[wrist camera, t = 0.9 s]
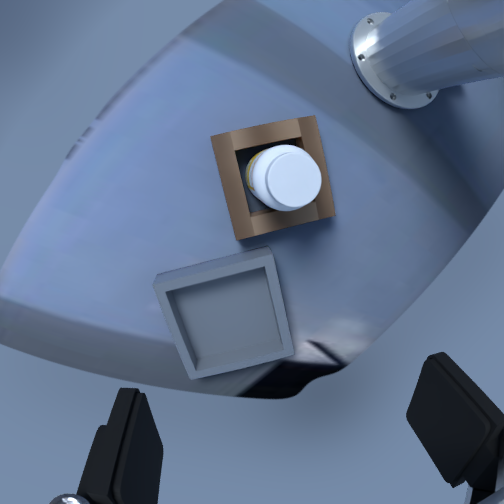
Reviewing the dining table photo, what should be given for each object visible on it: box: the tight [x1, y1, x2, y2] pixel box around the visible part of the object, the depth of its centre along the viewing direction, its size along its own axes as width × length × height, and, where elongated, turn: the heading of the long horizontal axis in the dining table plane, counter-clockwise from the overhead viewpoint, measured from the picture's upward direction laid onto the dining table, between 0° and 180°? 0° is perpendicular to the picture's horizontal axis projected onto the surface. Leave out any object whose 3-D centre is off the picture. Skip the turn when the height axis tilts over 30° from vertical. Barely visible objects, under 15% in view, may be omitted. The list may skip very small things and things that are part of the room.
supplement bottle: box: [245, 145, 321, 211], centre depth 26 cm, size 5×5×10 cm
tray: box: [153, 246, 294, 380], centre depth 33 cm, size 12×12×3 cm
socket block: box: [210, 115, 336, 240], centre depth 30 cm, size 10×10×2 cm
